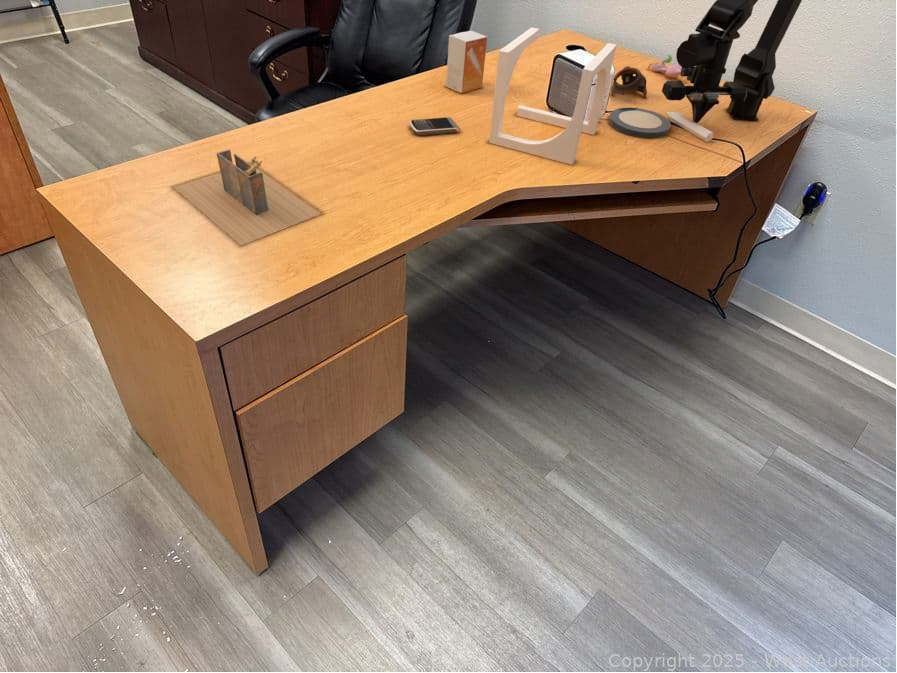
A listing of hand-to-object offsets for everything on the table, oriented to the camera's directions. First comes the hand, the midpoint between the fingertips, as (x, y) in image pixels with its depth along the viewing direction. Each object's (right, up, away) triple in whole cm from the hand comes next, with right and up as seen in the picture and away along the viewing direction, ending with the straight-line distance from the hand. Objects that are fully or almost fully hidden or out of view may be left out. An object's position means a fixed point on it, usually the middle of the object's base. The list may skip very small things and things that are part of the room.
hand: (693, 125), depth 150 cm
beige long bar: (-2, -1, +1) cm, 2 cm away
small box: (-57, +14, +12) cm, 60 cm away
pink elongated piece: (+4, +24, +28) cm, 37 cm away
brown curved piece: (-12, +13, +15) cm, 24 cm away
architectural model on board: (-100, -28, -37) cm, 110 cm away
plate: (-14, 0, 0) cm, 14 cm away
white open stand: (-39, -6, -9) cm, 40 cm away
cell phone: (-65, -4, -9) cm, 66 cm away
